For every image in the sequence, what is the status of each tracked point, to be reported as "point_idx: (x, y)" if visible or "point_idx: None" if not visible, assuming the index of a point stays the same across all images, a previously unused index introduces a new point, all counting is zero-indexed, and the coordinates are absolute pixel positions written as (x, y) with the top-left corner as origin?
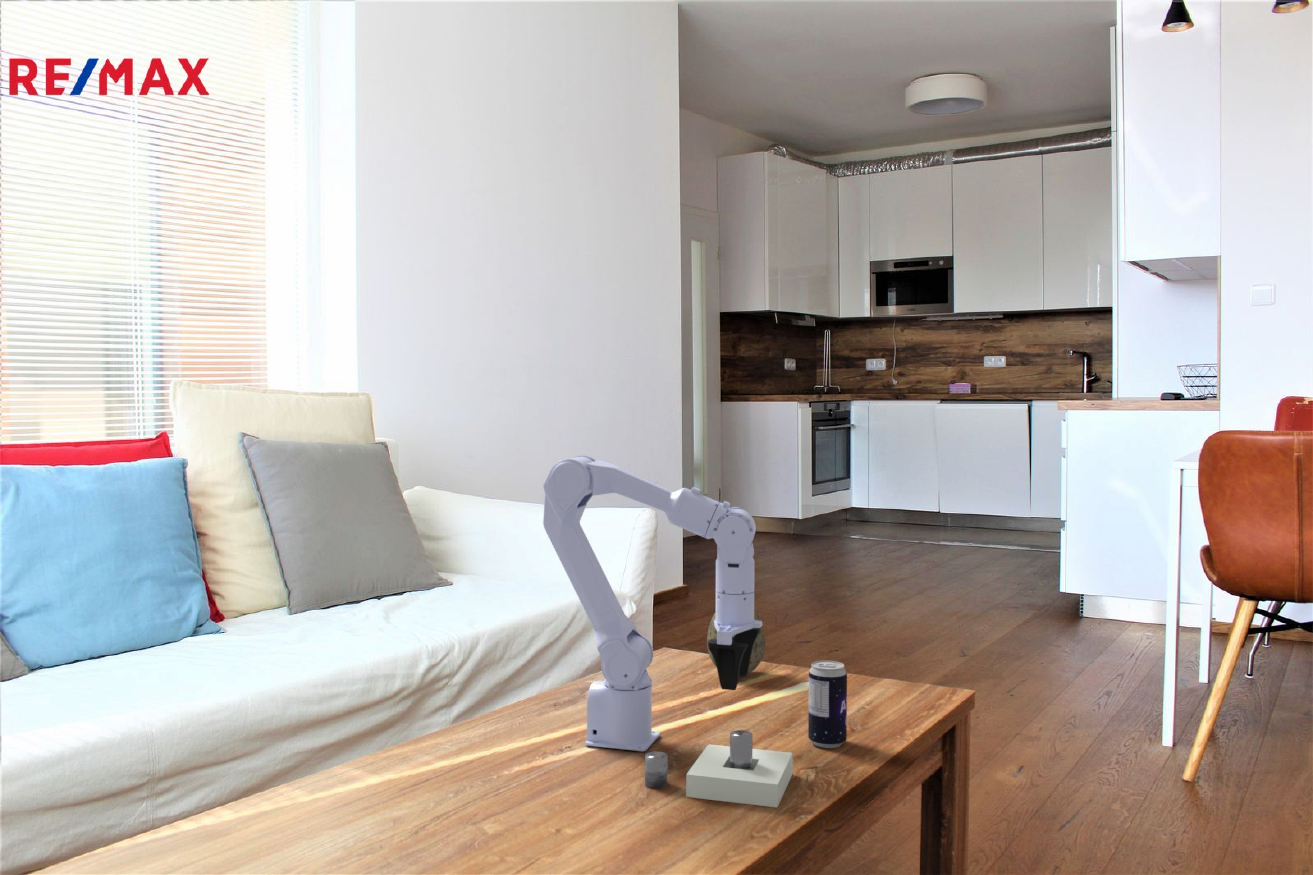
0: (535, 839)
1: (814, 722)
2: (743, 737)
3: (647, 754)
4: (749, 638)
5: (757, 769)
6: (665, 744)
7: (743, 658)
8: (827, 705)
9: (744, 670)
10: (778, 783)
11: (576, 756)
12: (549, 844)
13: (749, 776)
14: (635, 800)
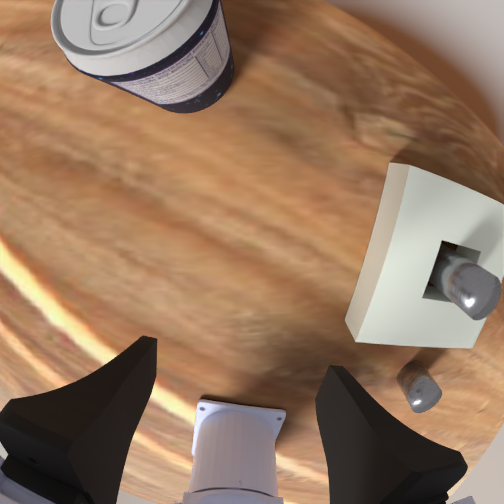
0: (487, 416)
1: (213, 89)
2: (499, 292)
3: (420, 410)
4: (97, 443)
5: (479, 244)
6: (240, 388)
7: (134, 390)
8: (226, 38)
9: (151, 356)
10: None
11: (300, 460)
12: (498, 405)
13: (498, 257)
14: (448, 380)
